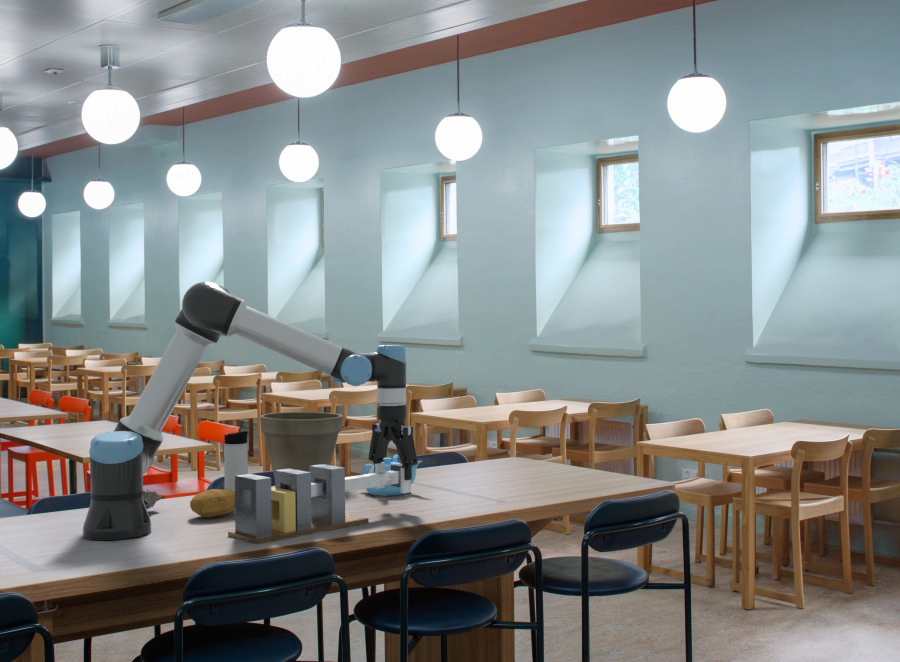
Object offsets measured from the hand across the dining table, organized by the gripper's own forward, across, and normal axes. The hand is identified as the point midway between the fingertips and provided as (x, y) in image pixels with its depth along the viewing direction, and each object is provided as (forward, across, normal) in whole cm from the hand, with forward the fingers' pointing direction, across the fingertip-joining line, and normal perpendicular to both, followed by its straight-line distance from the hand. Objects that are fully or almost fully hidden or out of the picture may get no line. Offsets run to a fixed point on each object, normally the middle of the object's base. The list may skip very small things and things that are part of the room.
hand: (392, 490), depth 247 cm
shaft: (-1, 0, +14) cm, 14 cm away
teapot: (+6, +22, -18) cm, 29 cm away
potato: (+6, +29, +35) cm, 46 cm away
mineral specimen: (+6, +48, +46) cm, 67 cm away
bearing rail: (+6, 0, +29) cm, 30 cm away
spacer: (+5, 0, +35) cm, 35 cm away
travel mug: (+6, +40, +22) cm, 46 cm away
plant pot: (+6, +52, -8) cm, 53 cm away
